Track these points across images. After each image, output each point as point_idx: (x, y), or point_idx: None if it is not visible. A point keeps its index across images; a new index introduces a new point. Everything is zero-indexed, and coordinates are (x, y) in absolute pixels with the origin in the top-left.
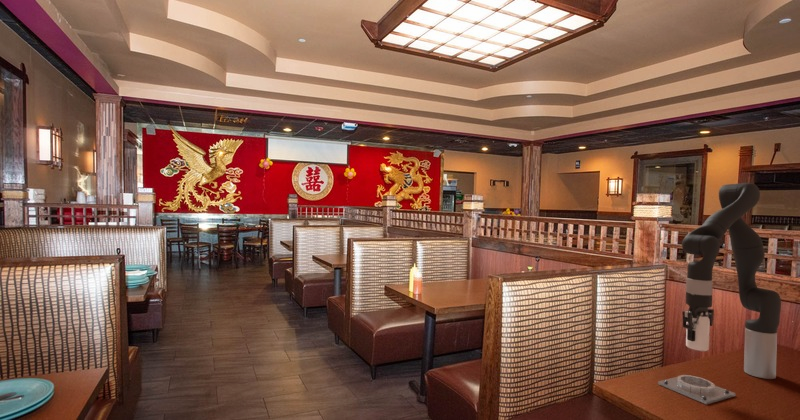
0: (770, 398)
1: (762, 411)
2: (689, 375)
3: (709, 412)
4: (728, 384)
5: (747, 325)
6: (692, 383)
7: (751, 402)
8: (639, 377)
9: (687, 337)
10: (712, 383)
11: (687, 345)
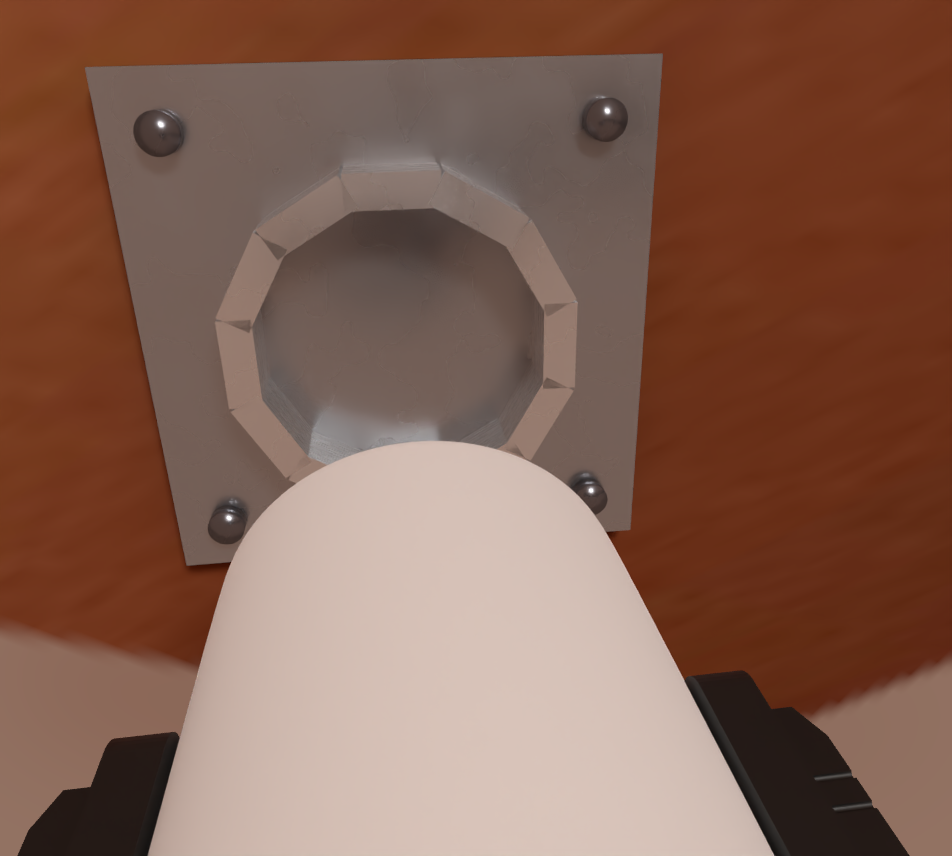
0: (834, 610)
1: None
2: (514, 211)
3: (85, 634)
4: (857, 346)
5: None
6: (465, 261)
7: None
8: None
9: (37, 824)
10: (529, 445)
11: (232, 567)
